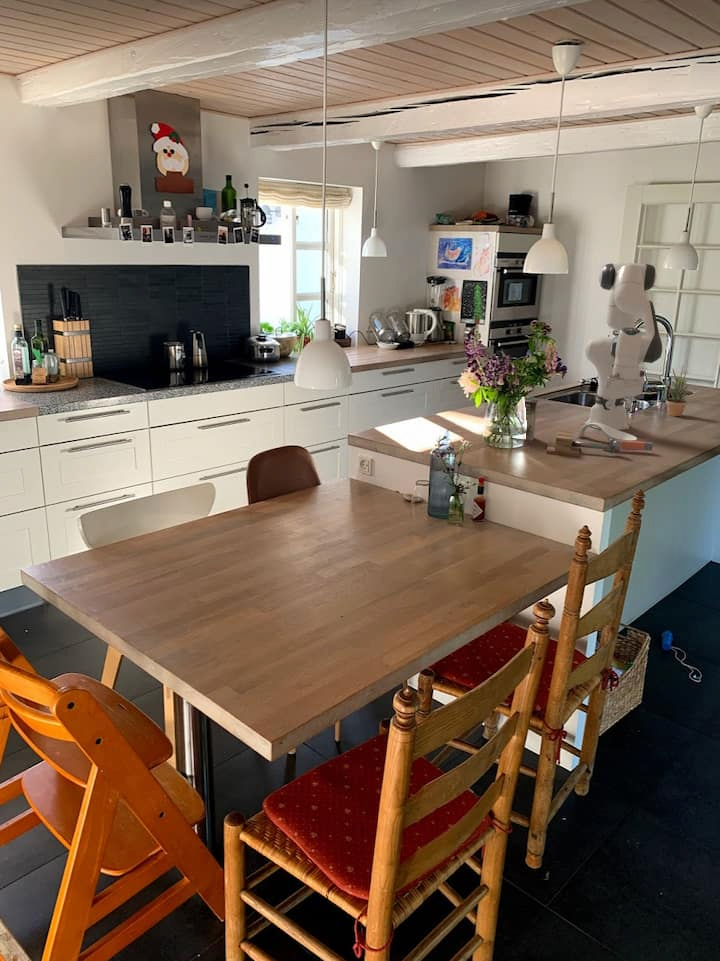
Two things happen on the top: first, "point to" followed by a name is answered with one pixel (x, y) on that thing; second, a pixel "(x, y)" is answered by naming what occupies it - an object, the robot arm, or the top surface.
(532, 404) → the coffee box
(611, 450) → the lever base
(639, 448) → the latch lever
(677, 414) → the potted plant
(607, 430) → the spoon rest
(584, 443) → the hook rod
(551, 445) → the eye block
